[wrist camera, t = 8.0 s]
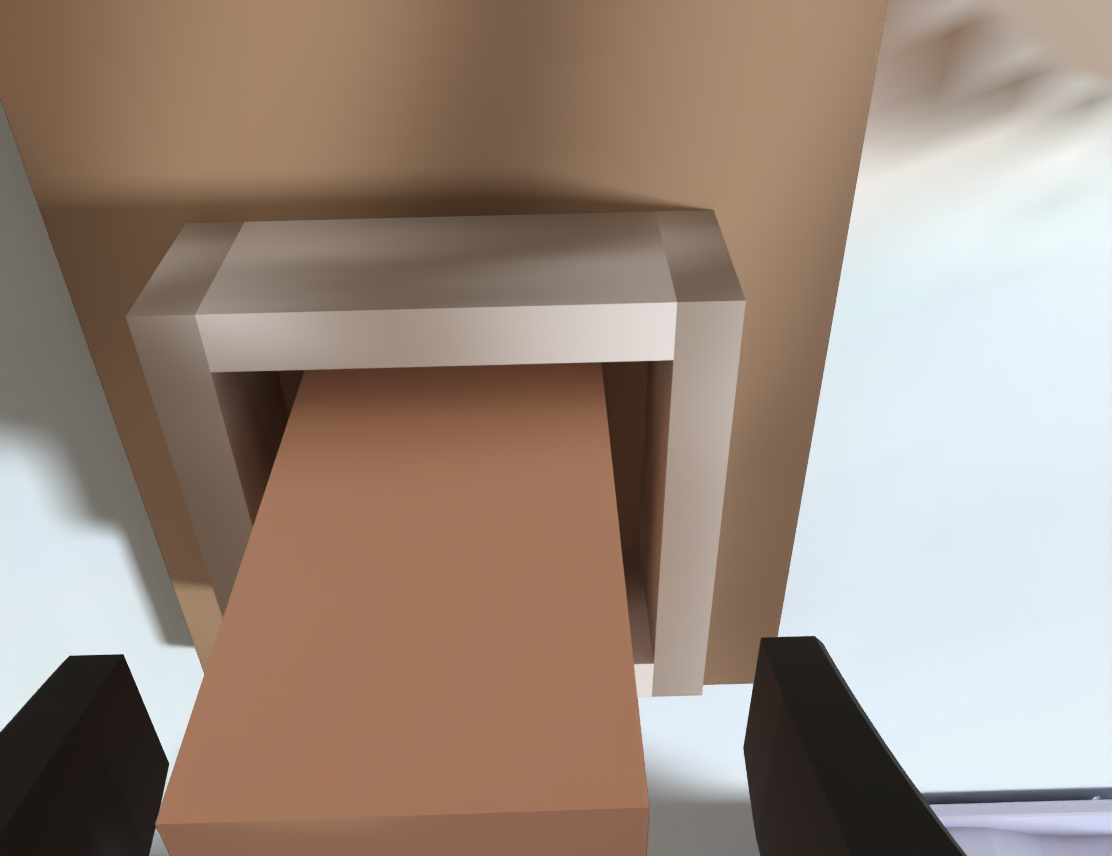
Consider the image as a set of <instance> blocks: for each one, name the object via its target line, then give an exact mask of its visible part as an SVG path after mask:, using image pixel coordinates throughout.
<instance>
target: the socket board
mask: <svg viewBox="0 0 1112 856" xmlns="http://www.w3.org/2000/svg"><path fill="white" fill-rule="evenodd" d="M887 4H888V0H0V99H1V102H2V105H3V107H4V110H5V113H6V116H7V119H8V121H9V124H10V127H11V130H12V133H13V136H14V138H15V141H16V144H17V147H18V150H19V153H20V155H21V158H22V161H23V164H24V167H25V169H26V172H27V175H28V178H29V181H30V184H31V186H32V189H33V192H34V195H35V198H36V200H37V203H38V206H39V209H40V212H41V215H42V217H43V220H44V223H45V226H46V229H47V232H48V234H49V237H50V240H51V243H52V246H53V248H54V251H55V254H56V257H57V260H58V263H59V265H60V268H61V271H62V274H63V277H64V279H65V282H66V285H67V288H68V291H69V294H70V296H71V299H72V302H73V305H74V308H75V311H76V313H77V316H78V319H79V322H80V325H81V327H82V330H83V333H84V336H85V339H86V342H87V344H88V347H89V350H90V353H91V356H92V358H93V361H94V364H95V367H96V370H97V373H98V375H99V378H100V381H101V384H102V387H103V390H104V392H105V395H106V398H107V401H108V404H109V406H110V409H111V412H112V415H113V418H114V421H115V423H116V426H117V429H118V432H119V435H120V438H121V440H122V443H123V446H124V449H125V452H126V454H127V457H128V460H129V463H130V466H131V469H132V471H133V474H134V477H135V480H136V483H137V485H138V488H139V491H140V494H141V497H142V500H143V502H144V505H145V508H146V511H147V514H148V517H149V519H150V522H151V525H152V528H153V531H154V533H155V536H156V539H157V542H158V545H159V548H160V550H161V553H162V556H163V559H164V562H165V564H166V567H167V570H168V573H169V576H170V579H171V581H172V584H173V587H174V590H175V593H176V596H177V598H178V601H179V604H180V607H181V610H182V612H183V615H184V618H185V621H186V624H187V627H188V629H189V632H190V635H191V638H192V641H193V643H194V646H195V649H196V652H197V655H198V658H199V660H200V663H201V666H202V669H203V672H204V674H205V671H206V668H207V665H208V662H209V659H210V656H211V653H212V650H213V647H214V644H215V641H216V638H217V635H218V632H219V629H220V626H221V623H222V620H223V617H224V614H225V611H226V608H227V605H228V601H229V598H230V595H231V592H232V589H233V586H234V583H235V580H236V577H237V574H238V571H239V568H240V565H241V562H242V559H243V556H244V553H245V550H246V547H247V544H248V541H249V538H250V535H251V532H252V529H253V526H254V523H255V520H256V517H257V514H258V510H259V507H260V504H261V501H262V498H263V495H264V492H265V489H266V486H267V483H268V480H269V477H270V474H271V471H272V468H273V465H274V462H275V459H276V456H277V453H278V450H279V447H280V444H281V441H282V438H283V435H284V432H285V429H286V426H287V423H288V419H289V416H290V413H291V410H292V407H293V404H294V401H295V398H296V395H297V392H298V389H299V386H300V383H301V380H302V377H303V374H304V371H305V370H319V369H357V368H395V367H433V366H471V365H508V364H546V363H584V362H601V363H602V373H603V382H604V391H605V400H606V410H607V419H608V428H609V438H610V447H611V456H612V465H613V475H614V484H615V493H616V503H617V512H618V521H619V531H620V540H621V549H622V558H623V568H624V577H625V586H626V596H627V605H628V614H629V623H630V633H631V642H632V651H633V661H634V670H635V679H636V689H637V697H655V696H690V695H702V688H703V685H714V684H748V683H754V678H755V672H756V665H757V659H758V652H759V646H760V640H761V638H764V637H777V636H778V630H779V625H780V619H781V613H782V607H783V602H784V596H785V590H786V584H787V579H788V573H789V567H790V561H791V556H792V550H793V544H794V538H795V533H796V527H797V521H798V516H799V510H800V504H801V498H802V493H803V487H804V481H805V475H806V470H807V464H808V458H809V452H810V447H811V441H812V435H813V429H814V424H815V418H816V412H817V406H818V401H819V395H820V389H821V383H822V378H823V372H824V366H825V360H826V355H827V349H828V343H829V337H830V332H831V326H832V320H833V314H834V309H835V303H836V297H837V292H838V286H839V280H840V274H841V269H842V263H843V257H844V251H845V246H846V240H847V234H848V228H849V223H850V217H851V211H852V205H853V200H854V194H855V188H856V182H857V177H858V171H859V165H860V159H861V154H862V148H863V142H864V136H865V131H866V125H867V119H868V113H869V108H870V102H871V96H872V90H873V85H874V79H875V73H876V68H877V62H878V56H879V50H880V45H881V39H882V33H883V27H884V22H885V16H886V10H887Z"/></svg>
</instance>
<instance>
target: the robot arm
mask: <svg viewBox="0 0 1112 856" xmlns="http://www.w3.org/2000/svg"><path fill="white" fill-rule="evenodd" d="M743 749H744V756H745V764H746V771H747V778H748V786H749V793H750V800H751V807H752V813H753V820H754V827H755V833H756V839H757V843H758V847H759V851H760V855H761V856H1112V799H1103V800H1069V801H1035V802H1002V803H968V804H934V805H929V804H928V803H927V801H926V800H925V799H924V797H923V796H922V795H921V793H920V792H919V790H918V789H917V788H916V786H915V785H914V784H913V782H912V781H911V779H910V778H909V777H908V775H907V774H906V772H905V771H904V770H903V768H902V767H901V765H900V764H899V762H898V761H897V760H896V758H895V757H894V755H893V754H892V752H891V751H890V749H889V748H888V747H887V745H886V744H885V742H884V741H883V739H882V738H881V736H880V734H879V733H878V731H877V730H876V728H875V727H874V725H873V724H872V722H871V721H870V719H869V718H868V716H867V715H866V713H865V712H864V710H863V709H862V707H861V705H860V704H859V702H858V701H857V699H856V698H855V696H854V694H853V693H852V691H851V690H850V688H849V686H848V685H847V683H846V682H845V680H844V678H843V677H842V675H841V673H840V672H839V670H838V668H837V667H836V665H835V663H834V662H833V660H832V658H831V657H830V655H829V653H828V651H827V650H826V648H825V646H824V644H823V643H822V642H821V641H820V640H819V639H817V638H816V637H815V636H802V637H764V638H761V640H760V646H759V652H758V659H757V665H756V672H755V678H754V684H753V691H752V697H751V703H750V710H749V716H748V722H747V729H746V735H745V741H744V748H743ZM168 767H169V762H168V760H167V757H166V755H165V753H164V750H163V748H162V746H161V743H160V741H159V738H158V736H157V734H156V731H155V729H154V726H153V724H152V722H151V719H150V717H149V714H148V712H147V710H146V707H145V705H144V703H143V700H142V698H141V695H140V693H139V691H138V688H137V686H136V683H135V681H134V679H133V676H132V674H131V671H130V669H129V667H128V664H127V662H126V659H125V657H124V655H123V654H119V655H81V656H69V657H68V658H67V659H66V660H65V661H64V662H63V663H62V664H61V665H60V666H59V667H58V668H57V670H56V671H55V672H54V673H53V674H52V675H51V676H50V677H49V678H48V679H47V681H46V682H45V683H44V684H43V685H42V686H41V687H40V688H39V689H38V691H37V692H36V693H35V694H34V695H33V696H32V697H31V698H30V699H29V701H28V702H27V703H26V704H25V705H24V706H23V707H22V708H21V710H20V711H19V712H18V713H17V714H16V715H15V716H14V717H13V719H12V720H11V721H10V722H9V723H8V724H7V725H6V726H5V728H4V729H3V730H2V731H1V732H0V856H149V853H150V849H151V844H152V840H153V836H154V832H155V827H156V826H155V823H156V820H157V817H158V814H159V810H160V805H161V801H162V796H163V791H164V786H165V781H166V777H167V772H168Z"/></svg>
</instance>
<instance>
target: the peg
mask: <svg viewBox="0 0 1112 856" xmlns="http://www.w3.org/2000/svg"><path fill="white" fill-rule="evenodd" d="M648 822H649V800H648V791H647V781H646V772H645V763H644V754H643V744H642V735H641V726H640V716H639V707H638V698H637V689H636V679H635V670H634V661H633V651H632V642H631V633H630V623H629V614H628V605H627V596H626V586H625V577H624V568H623V558H622V549H621V540H620V531H619V521H618V512H617V503H616V493H615V484H614V475H613V465H612V456H611V447H610V438H609V428H608V419H607V410H606V400H605V391H604V382H603V373H602V363H601V362H584V363H546V364H508V365H471V366H433V367H395V368H357V369H319V370H305V371H304V374H303V377H302V380H301V383H300V386H299V389H298V392H297V395H296V398H295V401H294V404H293V407H292V410H291V413H290V416H289V419H288V423H287V426H286V429H285V432H284V435H283V438H282V441H281V444H280V447H279V450H278V453H277V456H276V459H275V462H274V465H273V468H272V471H271V474H270V477H269V480H268V483H267V486H266V489H265V492H264V495H263V498H262V501H261V504H260V507H259V510H258V514H257V517H256V520H255V523H254V526H253V529H252V532H251V535H250V538H249V541H248V544H247V547H246V550H245V553H244V556H243V559H242V562H241V565H240V568H239V571H238V574H237V577H236V580H235V583H234V586H233V589H232V592H231V595H230V598H229V601H228V605H227V608H226V611H225V614H224V617H223V620H222V623H221V626H220V629H219V632H218V635H217V638H216V641H215V644H214V647H213V650H212V653H211V656H210V659H209V662H208V665H207V668H206V671H205V674H204V677H203V680H202V683H201V686H200V689H199V692H198V696H197V699H196V702H195V705H194V708H193V711H192V714H191V717H190V720H189V723H188V726H187V729H186V732H185V735H184V738H183V741H182V744H181V747H180V750H179V753H178V756H177V759H176V762H175V765H174V768H173V771H172V774H171V777H170V780H169V783H168V786H167V790H166V793H165V796H164V799H163V802H162V805H161V808H160V811H159V814H158V817H157V820H156V823H155V826H156V828H157V830H158V832H159V834H160V836H161V838H162V840H163V842H164V844H165V846H166V848H167V851H168V853H169V855H170V856H647V841H648Z"/></svg>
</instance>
